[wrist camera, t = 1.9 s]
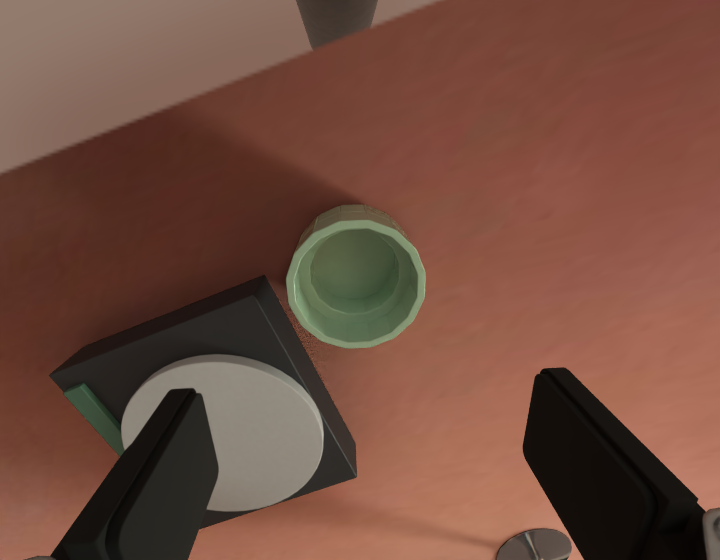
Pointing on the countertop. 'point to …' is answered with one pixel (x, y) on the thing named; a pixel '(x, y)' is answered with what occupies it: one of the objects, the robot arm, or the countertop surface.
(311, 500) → the countertop surface
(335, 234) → the bowl
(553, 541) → the wine glass
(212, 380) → the scale
